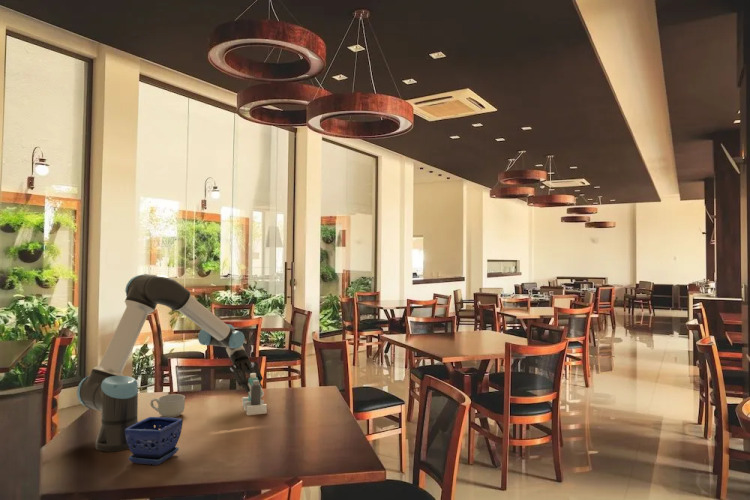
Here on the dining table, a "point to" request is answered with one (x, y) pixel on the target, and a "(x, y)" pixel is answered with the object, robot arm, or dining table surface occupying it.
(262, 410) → the cord comb
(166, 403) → the teacup
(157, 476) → the dining table surface
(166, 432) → the flower pot
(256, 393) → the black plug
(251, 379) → the teal bottle
